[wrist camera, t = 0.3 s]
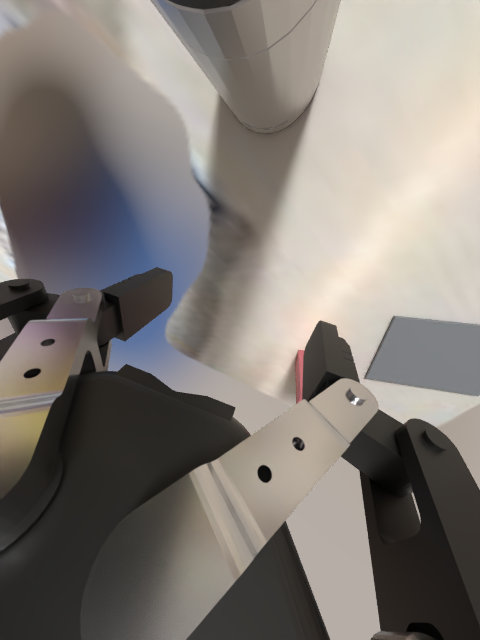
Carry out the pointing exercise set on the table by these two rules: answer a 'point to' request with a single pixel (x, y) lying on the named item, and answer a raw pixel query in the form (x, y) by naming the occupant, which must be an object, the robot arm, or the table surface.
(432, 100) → the table surface
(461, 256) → the table surface
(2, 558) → the robot arm
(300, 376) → the card box
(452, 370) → the rubber mat
